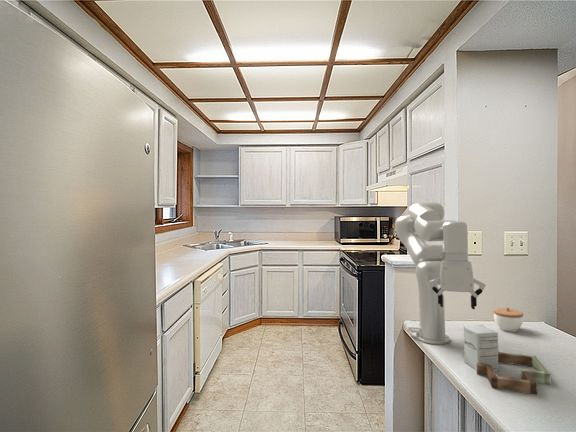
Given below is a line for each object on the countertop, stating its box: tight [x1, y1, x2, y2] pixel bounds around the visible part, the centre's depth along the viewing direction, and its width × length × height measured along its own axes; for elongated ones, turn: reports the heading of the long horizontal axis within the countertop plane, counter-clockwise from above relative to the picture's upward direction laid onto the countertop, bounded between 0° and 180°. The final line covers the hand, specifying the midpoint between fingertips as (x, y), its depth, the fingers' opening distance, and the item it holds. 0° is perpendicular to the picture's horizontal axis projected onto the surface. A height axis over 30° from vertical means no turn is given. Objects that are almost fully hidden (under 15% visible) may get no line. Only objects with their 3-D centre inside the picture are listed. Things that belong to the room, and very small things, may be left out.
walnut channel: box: [476, 351, 552, 385], centre depth 107 cm, size 19×13×3 cm
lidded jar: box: [493, 307, 524, 333], centre depth 142 cm, size 11×11×9 cm
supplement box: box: [463, 324, 499, 371], centre depth 110 cm, size 7×7×13 cm
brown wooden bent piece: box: [486, 366, 538, 395], centre depth 98 cm, size 11×8×3 cm
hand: (456, 307), depth 113 cm, fingers open, 9 cm apart
